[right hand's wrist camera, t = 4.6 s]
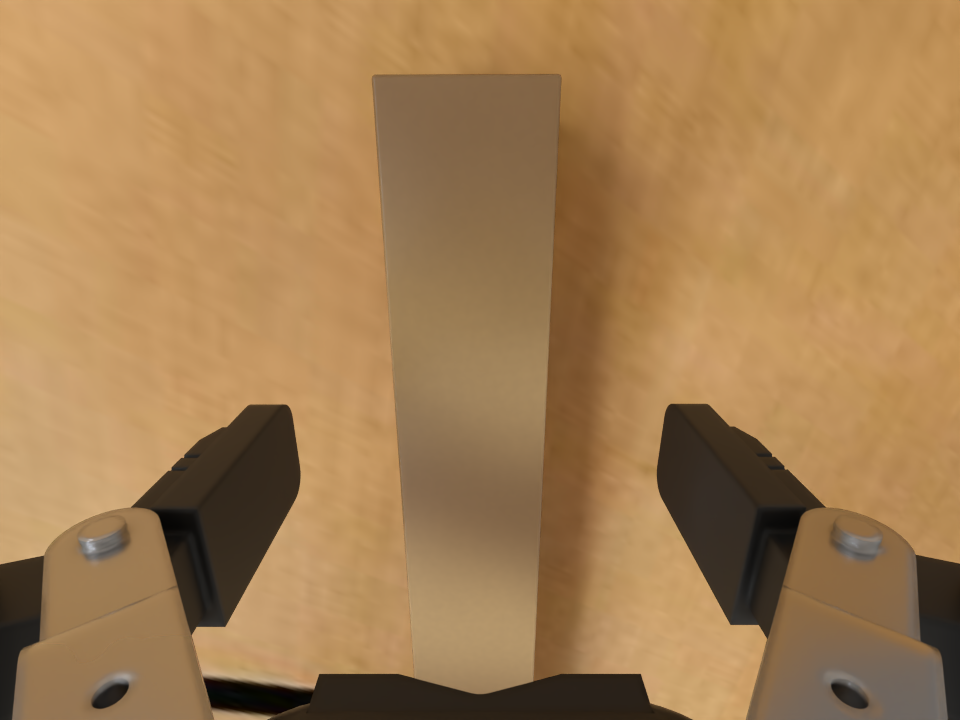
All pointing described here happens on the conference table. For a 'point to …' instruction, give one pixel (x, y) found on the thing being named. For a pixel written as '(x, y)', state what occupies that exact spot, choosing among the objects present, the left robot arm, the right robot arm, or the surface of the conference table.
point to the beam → (470, 357)
